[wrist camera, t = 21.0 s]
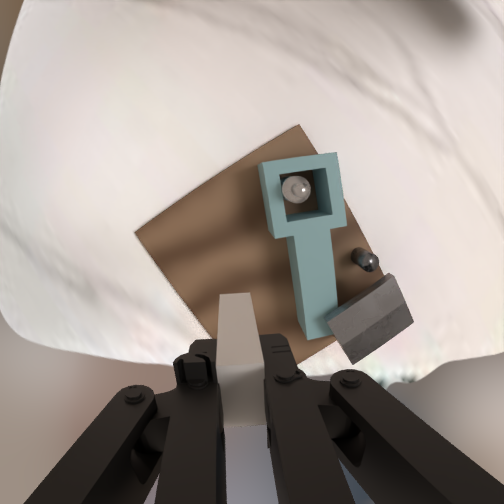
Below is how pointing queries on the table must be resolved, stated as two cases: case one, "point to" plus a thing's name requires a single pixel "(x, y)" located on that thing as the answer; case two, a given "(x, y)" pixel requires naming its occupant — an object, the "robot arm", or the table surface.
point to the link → (308, 235)
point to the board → (248, 247)
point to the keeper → (369, 313)
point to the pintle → (295, 188)
